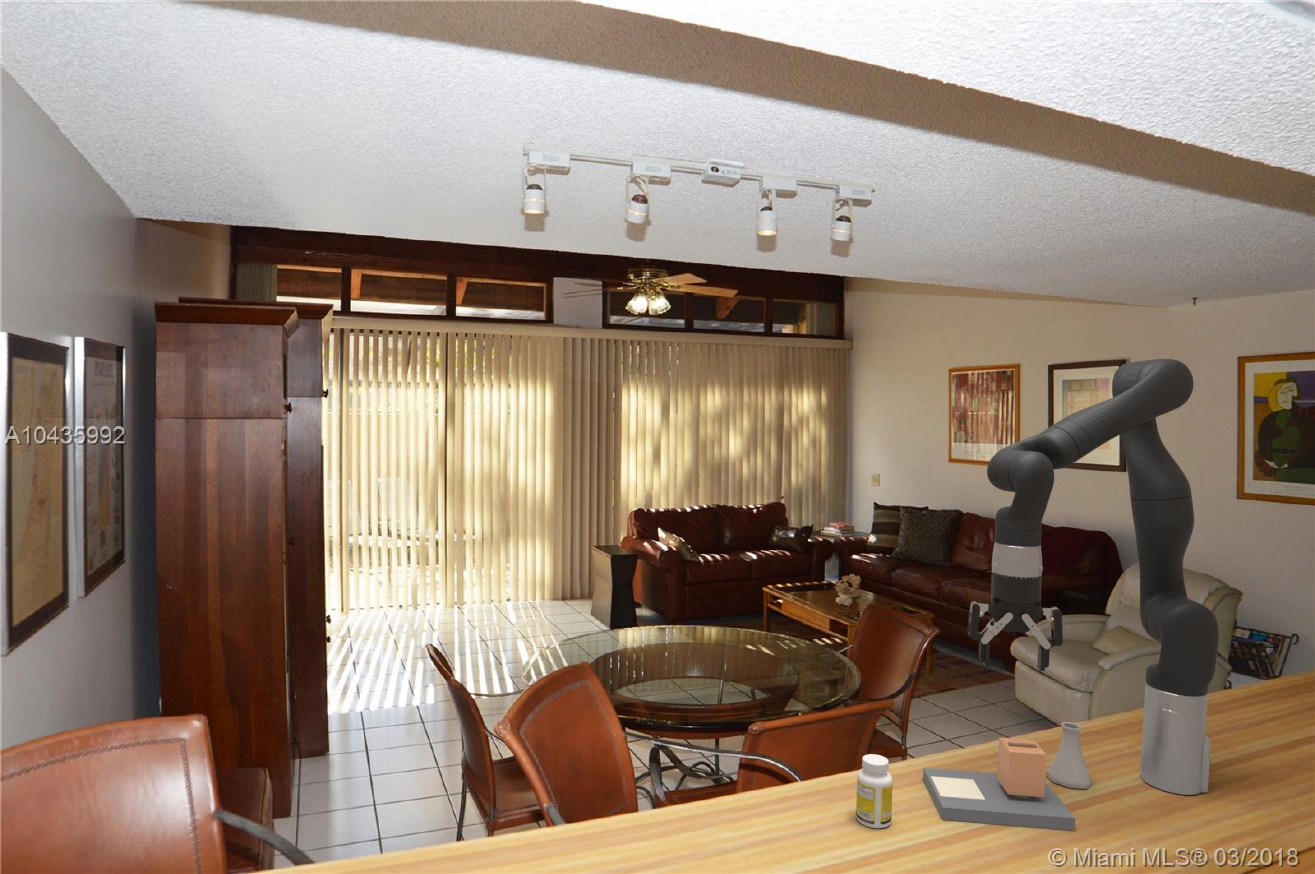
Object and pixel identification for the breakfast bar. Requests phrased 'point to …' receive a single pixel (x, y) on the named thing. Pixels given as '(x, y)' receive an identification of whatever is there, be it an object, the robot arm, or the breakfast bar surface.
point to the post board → (993, 801)
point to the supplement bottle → (874, 792)
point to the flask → (1069, 760)
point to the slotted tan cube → (1021, 767)
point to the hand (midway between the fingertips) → (1013, 667)
